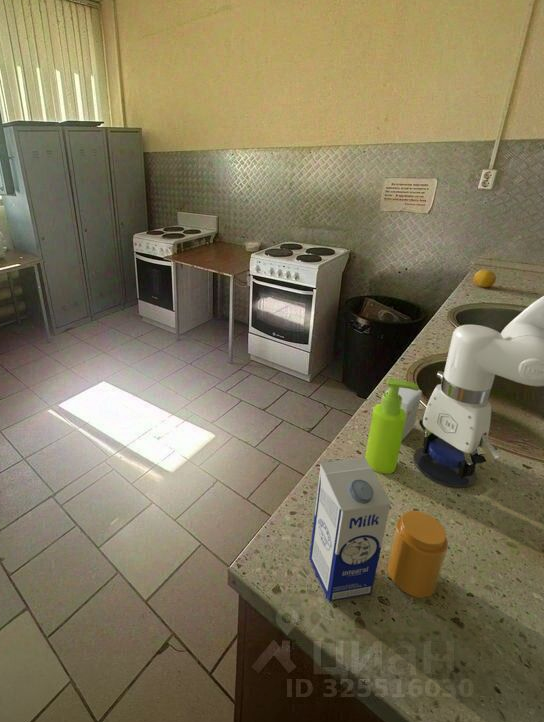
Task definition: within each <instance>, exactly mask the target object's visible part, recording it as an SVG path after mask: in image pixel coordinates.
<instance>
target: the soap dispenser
mask: <svg viewBox="0 0 544 722" xmlns="http://www.w3.org/2000/svg"><path fill="white" fill-rule="evenodd" d="M386 385H387V387H388V389H389V392H386V391H384V392H383V393H382V395H383V398H382V397H381V401H382V403H381V402H379V403H376V404H375V405H374V406H373V409H372V415H371V420H370V427H369V432H368V438H367V444H366V451H365V456H364V457H365V459H366V460H367V462H368V463H369V465H370V467H371V468H372V469H373V471H374V472H375V473H376V472H377V473H379V474H386V475H387V474H392V473H394V472H395V471H396V469H397V464H398V460H399V459H398V458H399V455H400V451H401V450H400V449H401V445H402V441H403V440H402V435H403V430H404V426H405V421H406V413H405V411H404V410H403V409H401V403H402V397H401V396H400V395H399V394H398V392H399V388H407V389H412V390H415V391H418V390H420V388H419V386H418V384H417V383H414V382H412V381H408V380H404V379H395V378H387V379H386ZM401 440H402V441H401Z"/></svg>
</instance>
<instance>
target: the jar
mask: <svg viewBox="0 0 544 722" xmlns="http://www.w3.org/2000/svg"><path fill="white" fill-rule="evenodd" d="M448 548H449V541H448V538H447V534H446V530H445V528H444V527H443V525H442V524H441V522H439V520H437V519H436V518H435V517H433V516H432V515H430V514H428V513H426V512H423V511H419V510H409V511H406V512H404V513H403V514H402V515H401V516H400V517H399V518H398V519H397V521H396V524H395V529H394V534H393V537H392V542H391V546H390V550H389V556H388V560H387V564H386V565H387V567H386V568H387V569H386V570H387V573H388V576H389V577H390V579H391V581H392V583H394V584H395V585H396V586H397V588H399V589H400V591H402V592H404V593H406V594H408V595H410V596H413V597H415V598H421V599H423V598H428V597H431V596H432V595H433V594H434V593H435V592H436V588H437V586H438V582H439V579H440V575H441V572H442V569H443V566H444V562H445V558H446V555H447V552H448Z"/></svg>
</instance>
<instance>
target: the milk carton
mask: <svg viewBox="0 0 544 722" xmlns="http://www.w3.org/2000/svg"><path fill="white" fill-rule="evenodd" d="M319 465H320V466H319V475H318V484H317V491H316V498H315V499H316V500H315V502H316V503H315V507H314V516H313V517H314V518H313V525H312V534H311V540H310V541H311V543H310V549H309V561H310V564H311V566H312V567H313V570H314V572H315V574H316V576H317V578H318V581H319V583H320V585H321V587H322V589H323V592H324V594H325V596H326V598H327V600H328V602H334V601H340V600H344V599H345V600H346V599H350V598H356V597H361V596H367V595H372V593H373V588H374V583H375V579H376V574H377V569H378V564H379V559H380V555H381V549H382V546H383V540H384V535H385V532H386V527H387V526H386V525H387V522H388V517H389V512H390V508H391V504H392V501H391V499H390V498H389V496H388V494H387V492H386V491H385V489H384V486H383V485H382V484H381V482H380V480H379V478H378V476H377V474H376V472H375V471H374V470H373V469H372V468H371V467H370V465H369V463H368V462H367V460H366V459H365V456H359V457H353V458H345V459H338V460H332V461H324V462H323V461H322V462H320V463H319Z"/></svg>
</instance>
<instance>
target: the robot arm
mask: <svg viewBox="0 0 544 722" xmlns="http://www.w3.org/2000/svg"><path fill="white" fill-rule="evenodd" d="M496 376H498V377H501V378H504V379H507V380H510V381H512V382H515V383H518V384H522V385H525V386H531V387H544V295H543V296H541V297H540V298H538V299H536V300H534V302H532V303H531V304H530V305H528V306H527V307H526V308H525V309H524V310H522V311H521V312H520V313H519V314H518V315H517V316H515V317H514V318H513V319H512V320H511V321H509V323H508V324H506V326H505V327H504V328H503V329H502V331H501V332H499V331H497V330H496V329H493V328H491V327H488V326H485V325H480V324H479V325H478V324H462V325H459V326H458V327H456V328H455V329H454V330H453V332H452V335H451V339H450V344H449V347H448V353H447V357H446V363H445V366H444V371H441V370H439V371H438V372H437V374H436V377H437V378H439V379H440V384H439V383H438V384H436V386H435V388H434V389H433V391H432V393H431V395H430V397H429V399H428V402H427V404H426V407H424V408H418V410H416V411H415V413H416V415H417V417H416V418H417V420H418V421H419V425H420V427H421V429H422V435H423V436H424V438H423V444H422V446H423V447H424V448H423V453H424V454H428V453H429V452H428V447H429V443H430V441H431V440H433V439H435V438H441V439H443V440H444V441H446V442H447V443H449V444H451V445H452V446H454V447H456V448H457V449H459V450H461V451H462V452H463V453H464V457H465V460H463V461H462V462H461V465H460V469H459V473H458V477H459V478H461V479H462V478H464V477H466V476H471V475H473V473H474V470H475V471H476V466H477V464H483V463H489V462H494V461H496V460H498V459H500V455H499V454H498V451H497V450H496V449H495V447H494V445H493V443H491V441H490V440H489V438H488V437H489V433H490V429H491V421H492V405H491V402H490V401H489V398H490V394H491V391H492V387H493V384H494V381H495V377H496ZM479 448H481V449H482V450H483V452H484V453H481V452H480V449H479Z"/></svg>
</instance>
